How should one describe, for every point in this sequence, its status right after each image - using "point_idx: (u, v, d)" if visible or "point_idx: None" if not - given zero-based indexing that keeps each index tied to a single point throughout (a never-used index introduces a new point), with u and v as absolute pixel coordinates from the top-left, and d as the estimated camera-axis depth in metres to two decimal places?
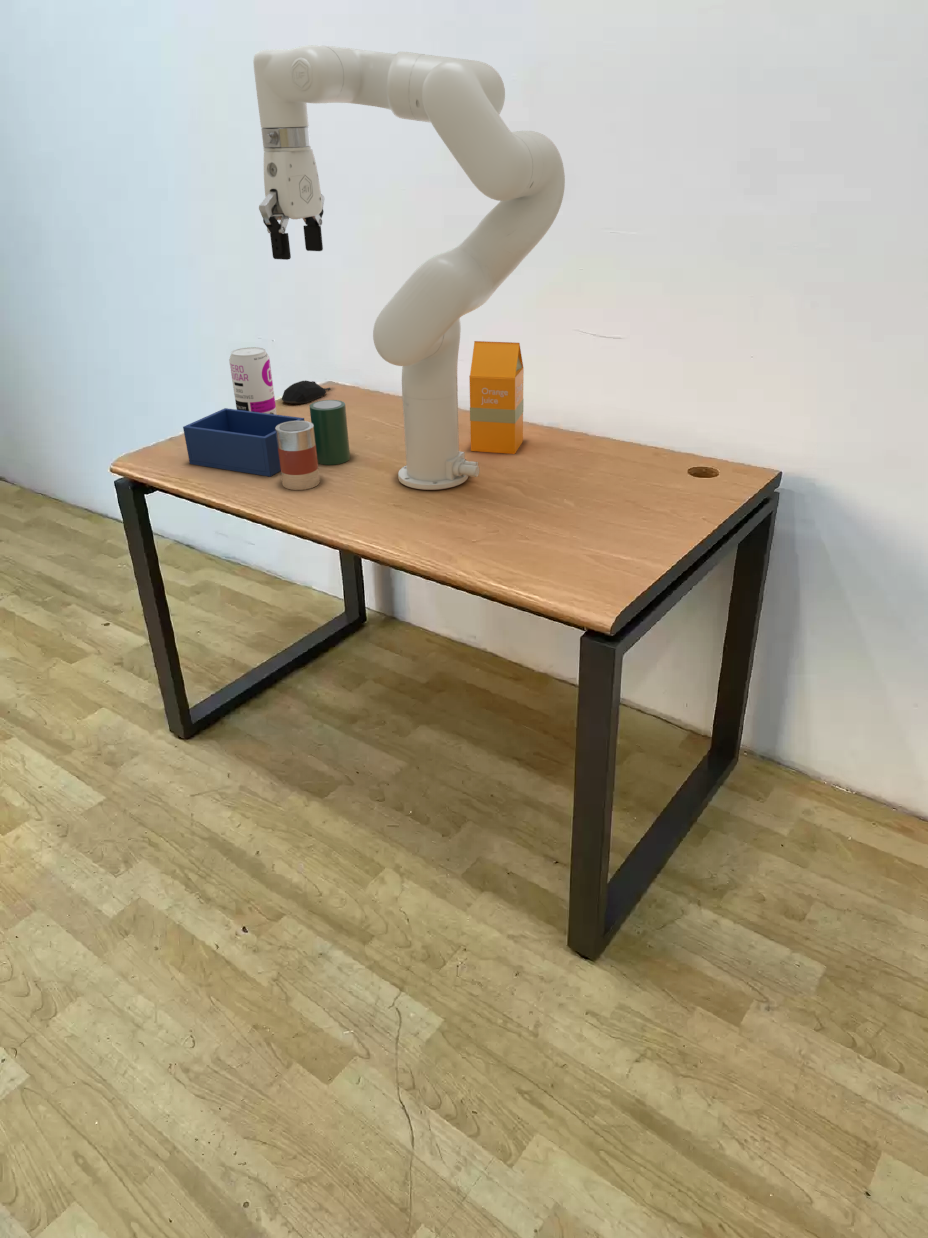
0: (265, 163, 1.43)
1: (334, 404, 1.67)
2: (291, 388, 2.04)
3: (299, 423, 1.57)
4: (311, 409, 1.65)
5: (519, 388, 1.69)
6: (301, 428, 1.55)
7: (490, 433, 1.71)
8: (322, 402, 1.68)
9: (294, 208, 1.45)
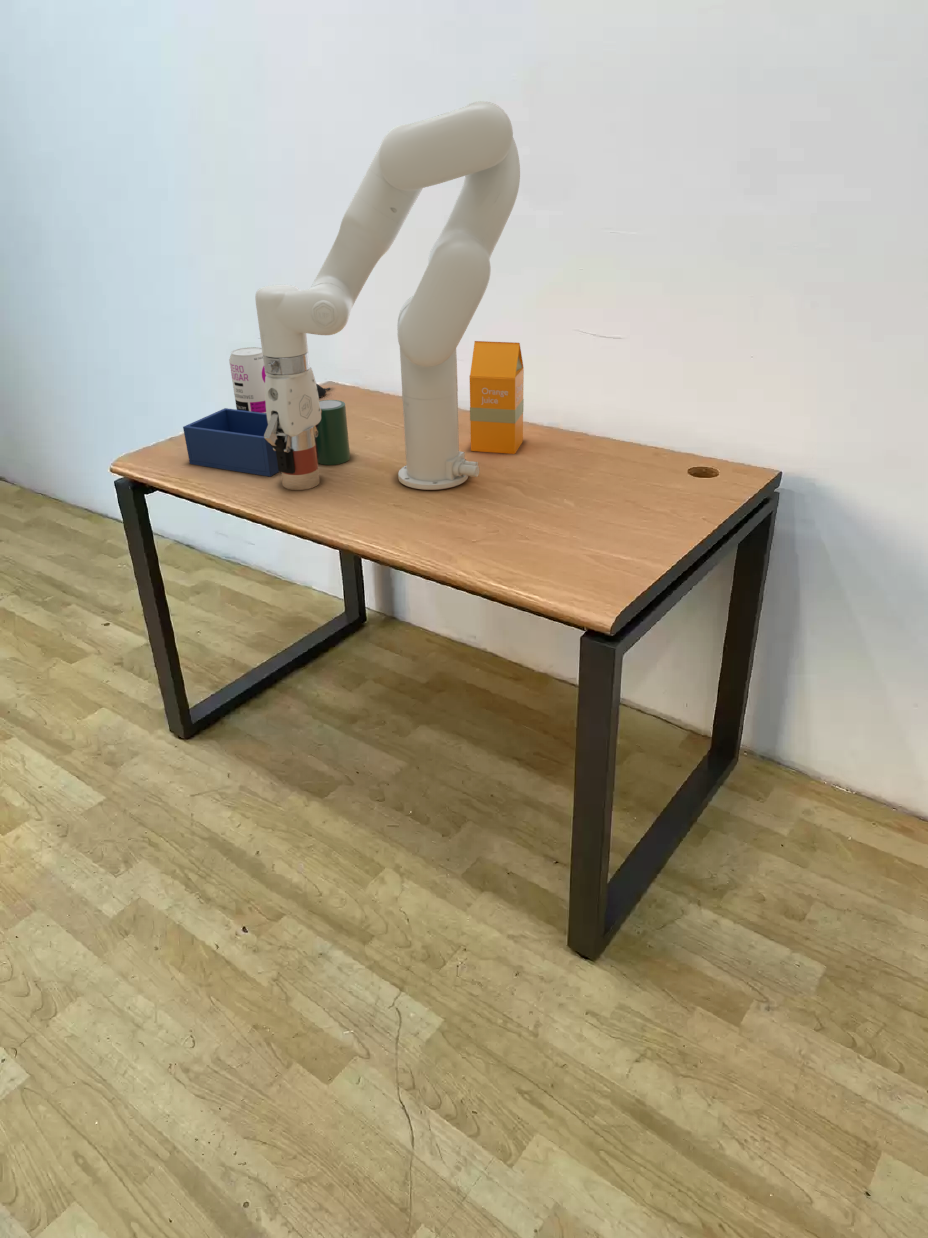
0: (266, 387, 1.49)
1: (334, 404, 1.67)
2: None
3: None
4: None
5: (519, 388, 1.69)
6: None
7: (490, 433, 1.71)
8: (322, 402, 1.68)
9: (294, 427, 1.52)
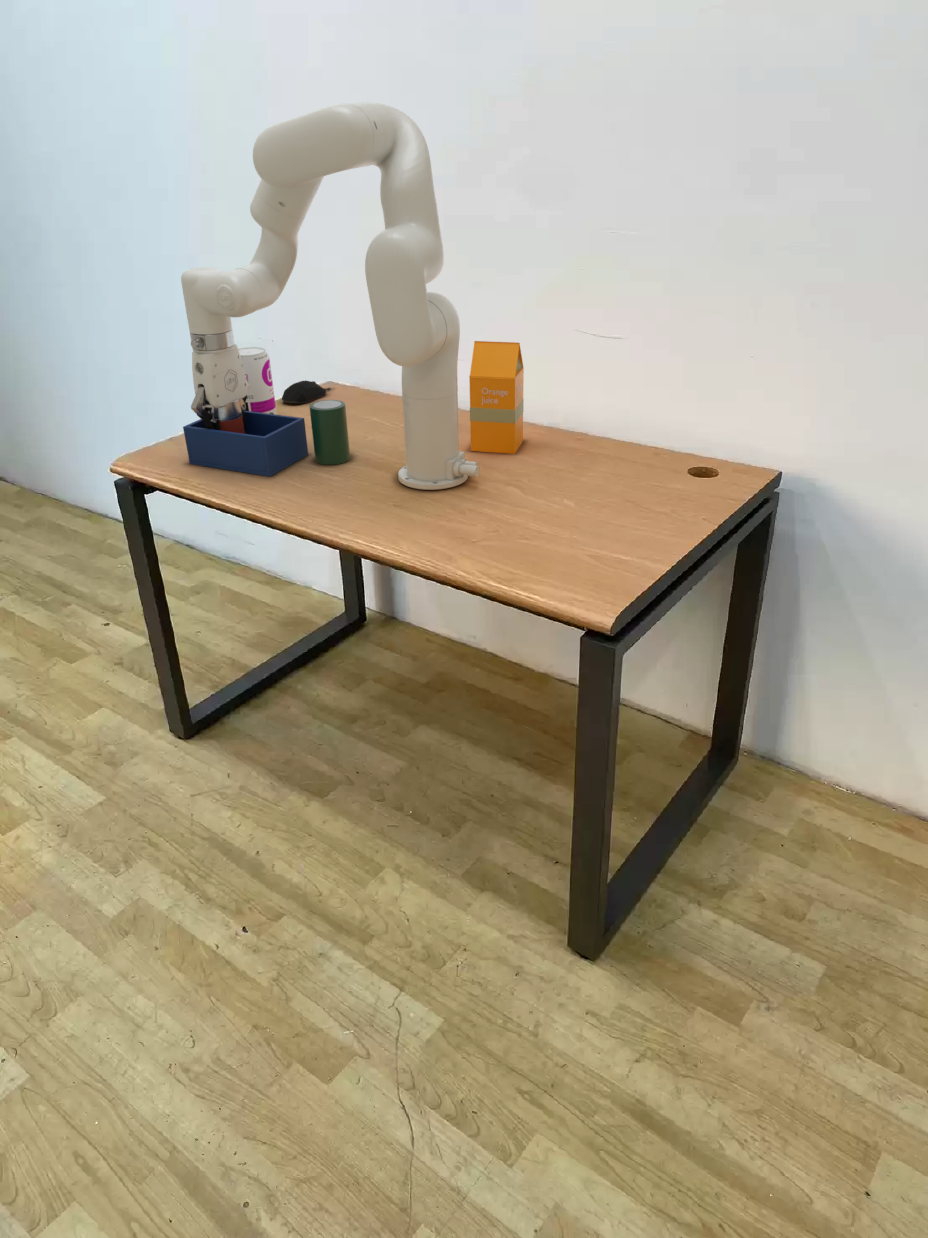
0: (193, 362, 1.62)
1: (334, 404, 1.67)
2: (291, 388, 2.04)
3: None
4: (311, 409, 1.65)
5: (519, 388, 1.69)
6: None
7: (490, 433, 1.71)
8: (322, 402, 1.68)
9: (219, 399, 1.64)
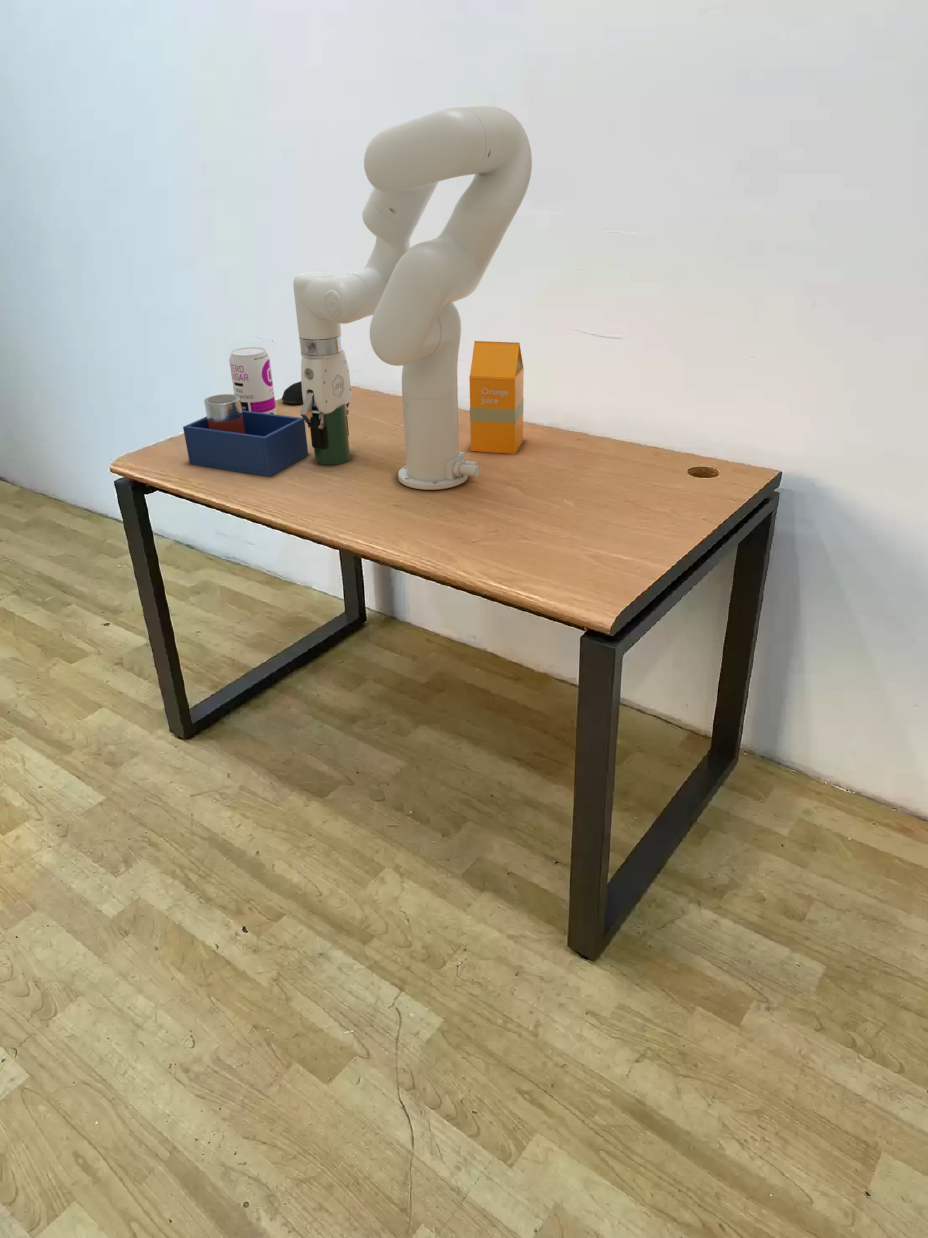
0: (302, 368, 1.60)
1: None
2: (291, 388, 2.04)
3: (227, 396, 1.70)
4: None
5: (519, 388, 1.69)
6: (228, 400, 1.68)
7: (490, 433, 1.71)
8: None
9: (328, 405, 1.62)
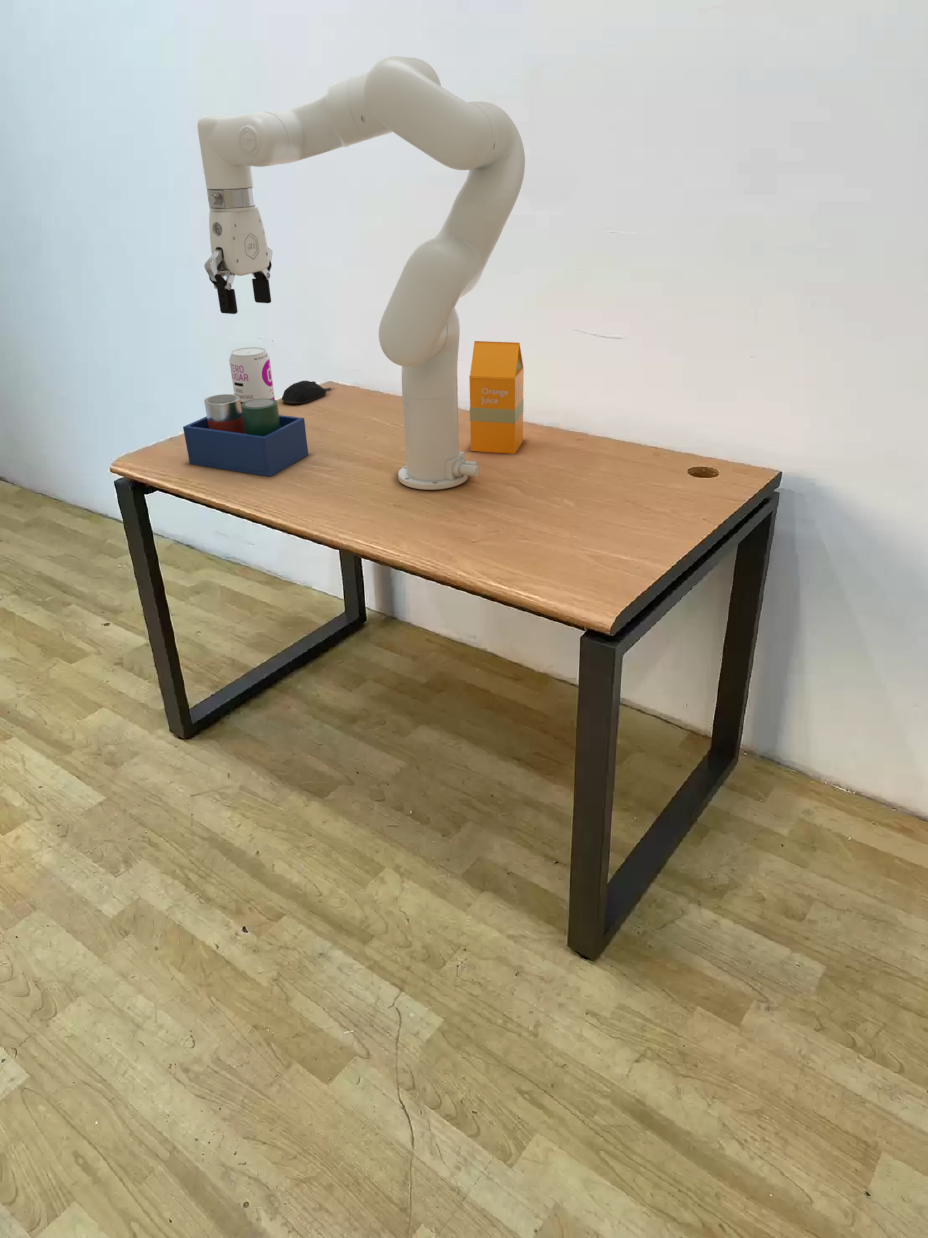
0: (210, 222, 1.47)
1: (266, 403, 1.66)
2: (292, 388, 2.04)
3: (227, 396, 1.70)
4: (242, 408, 1.64)
5: (519, 388, 1.69)
6: (228, 400, 1.68)
7: (490, 433, 1.71)
8: (254, 401, 1.67)
9: (239, 265, 1.50)
